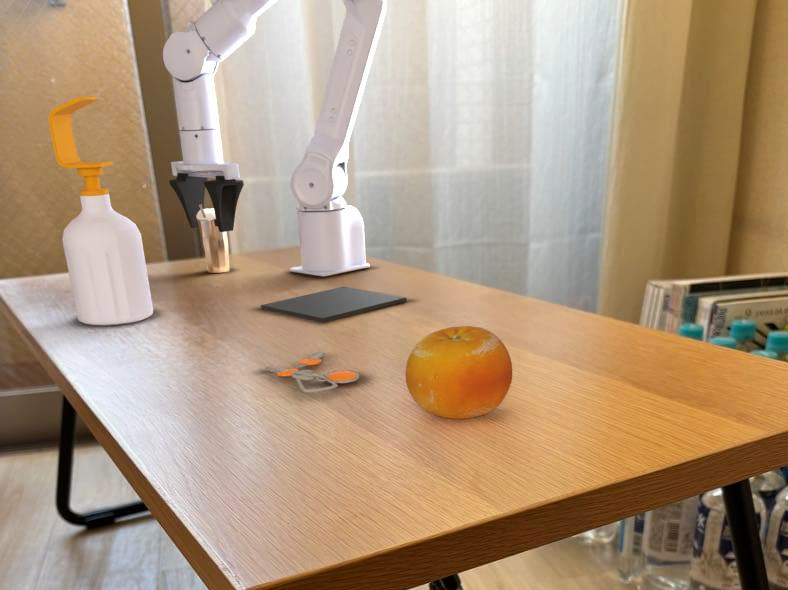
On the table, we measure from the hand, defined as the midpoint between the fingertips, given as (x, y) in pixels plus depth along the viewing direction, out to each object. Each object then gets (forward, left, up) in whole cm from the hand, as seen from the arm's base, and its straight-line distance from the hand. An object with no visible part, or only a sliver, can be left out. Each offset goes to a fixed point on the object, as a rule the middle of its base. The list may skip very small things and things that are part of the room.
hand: (211, 229), depth 134 cm
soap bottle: (+26, +16, -6) cm, 31 cm away
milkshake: (0, 0, -6) cm, 6 cm away
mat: (+5, +33, -6) cm, 34 cm away
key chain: (+27, +55, -6) cm, 62 cm away
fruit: (+26, +73, -6) cm, 78 cm away
